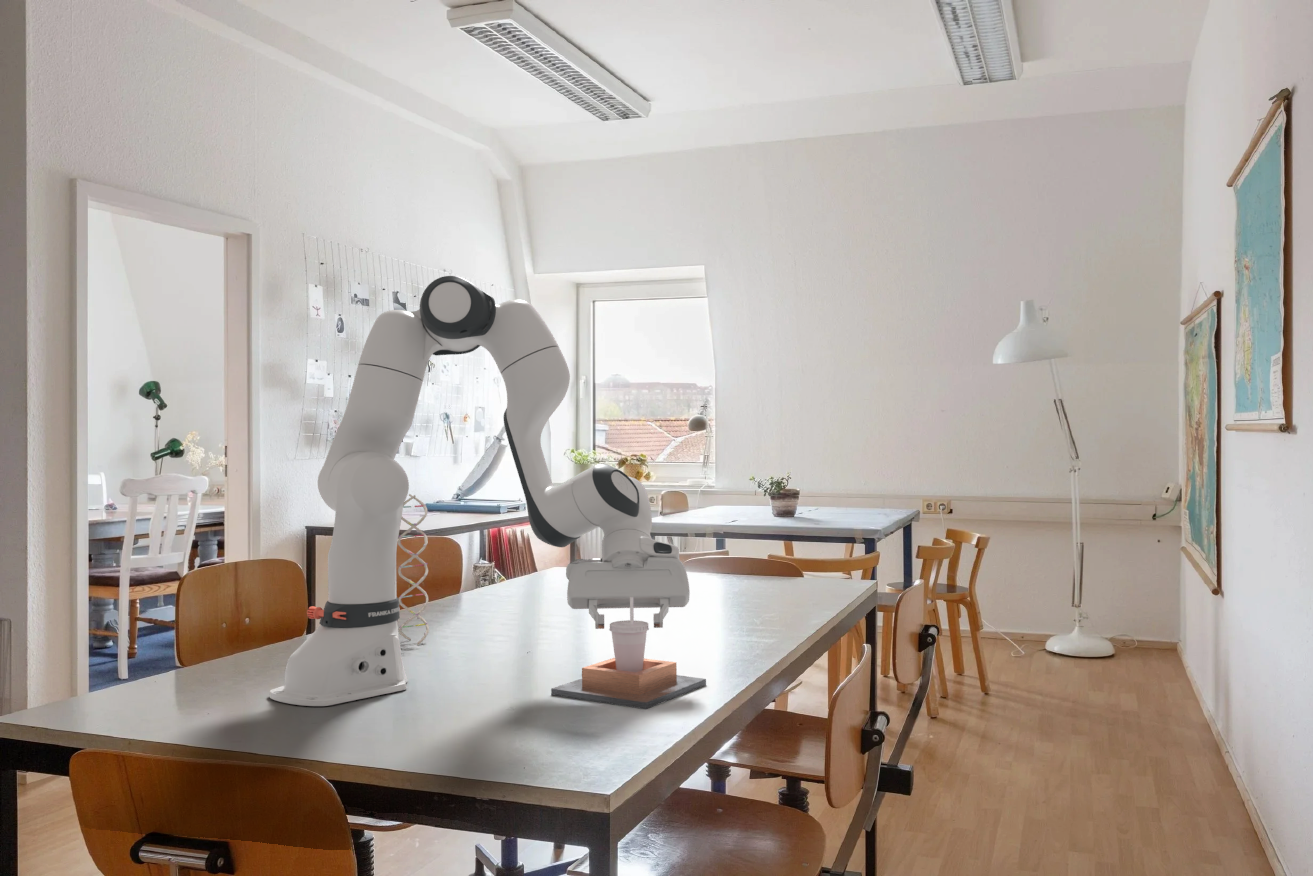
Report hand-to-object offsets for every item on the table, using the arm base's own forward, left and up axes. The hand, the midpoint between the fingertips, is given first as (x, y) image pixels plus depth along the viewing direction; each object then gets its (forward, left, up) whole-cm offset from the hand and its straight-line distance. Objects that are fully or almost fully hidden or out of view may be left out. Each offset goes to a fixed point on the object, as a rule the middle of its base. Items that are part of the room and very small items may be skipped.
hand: (629, 626), depth 169 cm
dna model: (+13, +61, -11) cm, 63 cm away
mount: (+1, 0, -10) cm, 10 cm away
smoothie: (+1, 0, -10) cm, 10 cm away
